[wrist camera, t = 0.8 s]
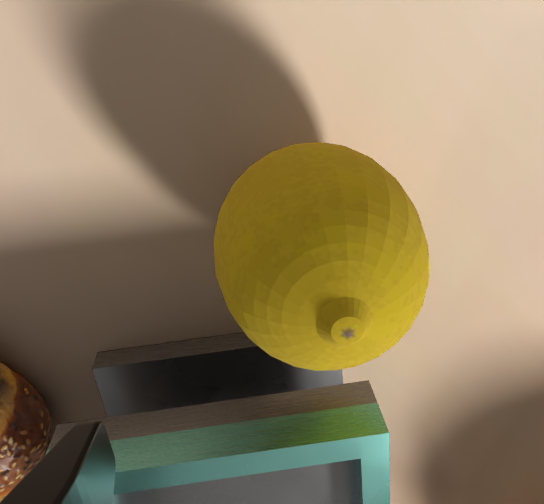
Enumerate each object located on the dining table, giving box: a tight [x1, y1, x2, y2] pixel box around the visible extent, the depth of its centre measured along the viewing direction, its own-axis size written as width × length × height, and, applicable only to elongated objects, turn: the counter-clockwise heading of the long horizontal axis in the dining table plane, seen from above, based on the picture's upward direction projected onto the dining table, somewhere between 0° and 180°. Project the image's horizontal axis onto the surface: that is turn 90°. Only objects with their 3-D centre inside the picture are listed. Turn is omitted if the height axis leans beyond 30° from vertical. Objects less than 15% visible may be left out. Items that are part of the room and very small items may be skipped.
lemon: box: [213, 142, 429, 371], centre depth 14 cm, size 6×6×8 cm
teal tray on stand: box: [45, 332, 390, 504], centre depth 19 cm, size 10×10×6 cm
